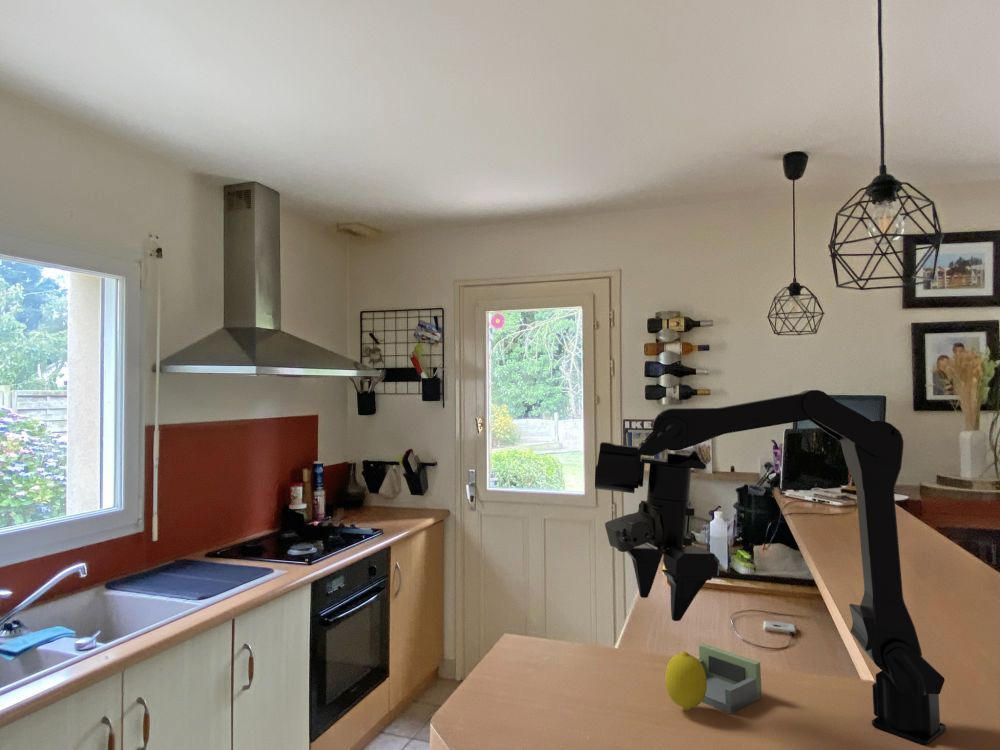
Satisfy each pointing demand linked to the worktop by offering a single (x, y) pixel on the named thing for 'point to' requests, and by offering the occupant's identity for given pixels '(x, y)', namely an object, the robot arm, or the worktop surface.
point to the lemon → (686, 681)
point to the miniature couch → (729, 679)
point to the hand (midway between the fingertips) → (659, 608)
